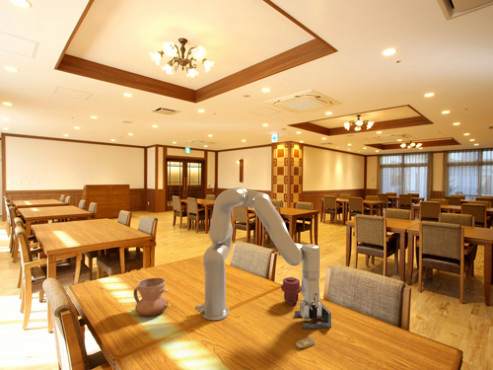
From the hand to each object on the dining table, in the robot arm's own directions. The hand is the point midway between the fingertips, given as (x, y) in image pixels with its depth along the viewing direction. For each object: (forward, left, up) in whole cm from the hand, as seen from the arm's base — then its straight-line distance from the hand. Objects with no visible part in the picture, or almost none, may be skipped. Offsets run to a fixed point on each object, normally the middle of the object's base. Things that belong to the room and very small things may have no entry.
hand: (310, 314), depth 116 cm
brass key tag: (-8, -15, -3) cm, 17 cm away
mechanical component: (-3, +18, -3) cm, 19 cm away
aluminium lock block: (0, 0, -1) cm, 1 cm away
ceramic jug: (-71, +20, -3) cm, 74 cm away
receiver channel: (0, 0, -3) cm, 3 cm away
